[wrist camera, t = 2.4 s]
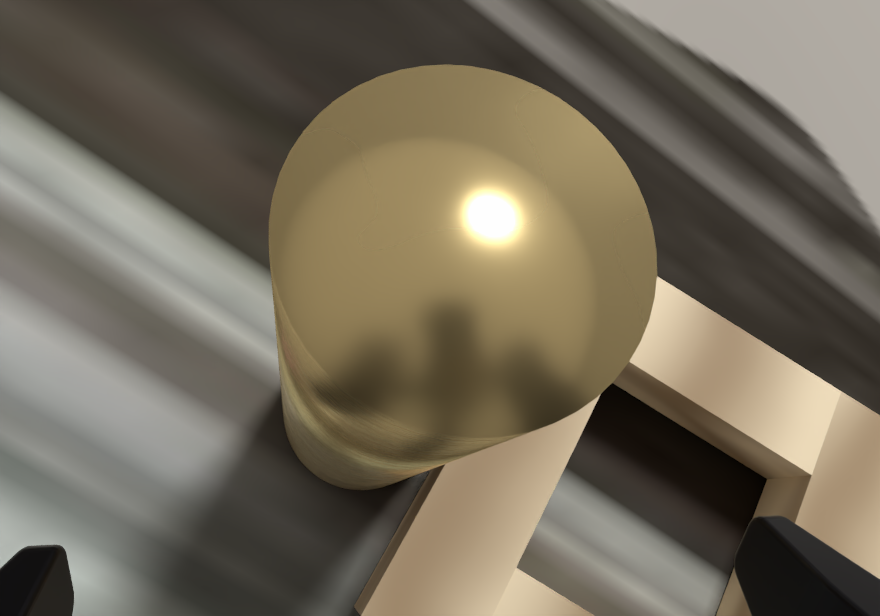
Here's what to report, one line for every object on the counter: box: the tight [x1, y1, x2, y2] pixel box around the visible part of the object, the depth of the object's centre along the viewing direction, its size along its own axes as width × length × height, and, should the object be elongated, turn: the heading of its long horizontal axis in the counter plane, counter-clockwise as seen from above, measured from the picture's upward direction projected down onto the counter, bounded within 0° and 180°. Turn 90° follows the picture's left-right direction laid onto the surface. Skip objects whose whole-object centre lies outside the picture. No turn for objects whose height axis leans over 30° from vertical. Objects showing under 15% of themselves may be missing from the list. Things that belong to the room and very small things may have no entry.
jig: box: [354, 277, 880, 616], centre depth 20 cm, size 12×12×2 cm
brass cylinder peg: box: [269, 65, 657, 490], centre depth 14 cm, size 4×4×13 cm
